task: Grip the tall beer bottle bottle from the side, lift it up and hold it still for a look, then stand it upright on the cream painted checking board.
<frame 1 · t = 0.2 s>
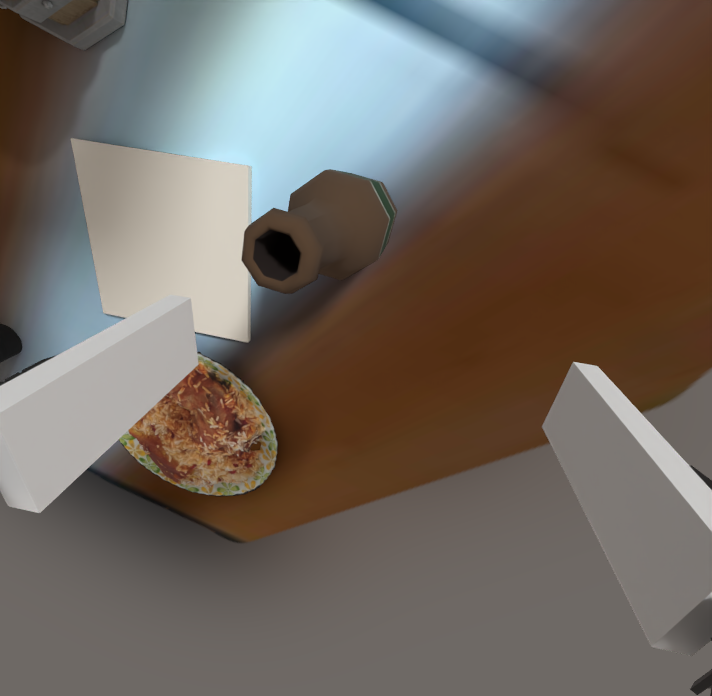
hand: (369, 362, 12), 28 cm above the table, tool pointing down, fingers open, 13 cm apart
drinking cup: (8, 338, 52), on the table
beer bottle: (361, 215, 37), on the table
rice dish: (195, 421, 53), on the table
checking board: (170, 247, 42), on the table
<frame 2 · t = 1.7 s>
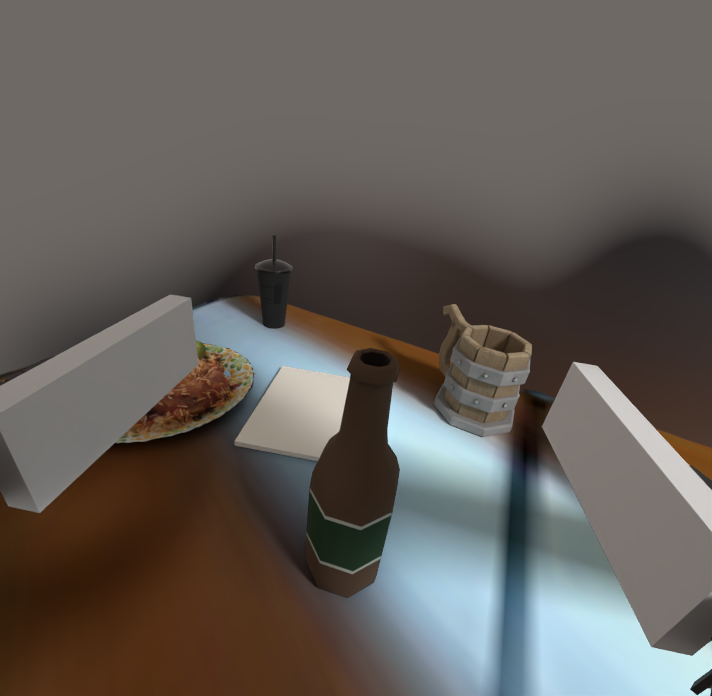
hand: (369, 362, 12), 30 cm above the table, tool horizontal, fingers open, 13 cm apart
drinking cup: (274, 324, 81), on the table
tankard: (460, 398, 64), on the table
beer bottle: (342, 560, 36), on the table
rice dish: (164, 391, 57), on the table
checking board: (323, 412, 56), on the table
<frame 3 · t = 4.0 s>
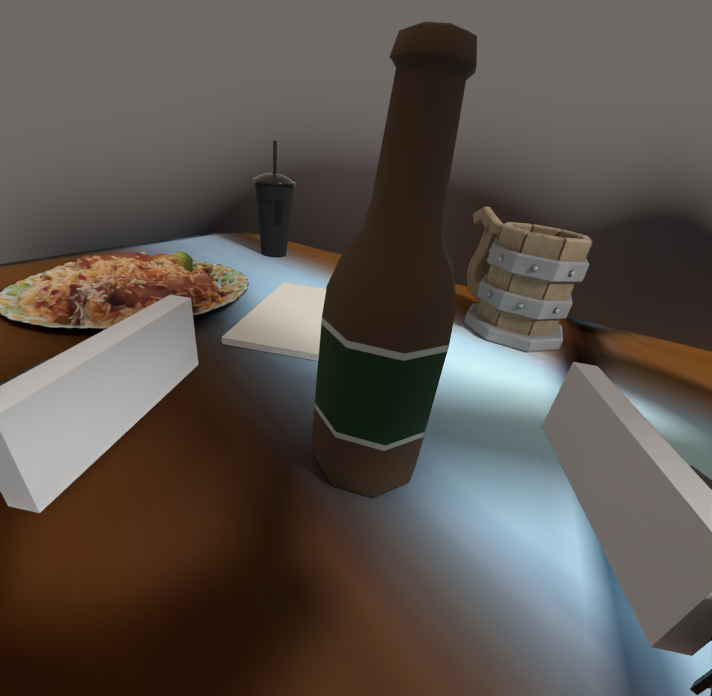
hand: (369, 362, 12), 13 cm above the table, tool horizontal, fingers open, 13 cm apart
drinking cup: (274, 254, 72), on the table
tankard: (493, 320, 54), on the table
beer bottle: (363, 458, 26), on the table
rice dish: (140, 297, 47), on the table
checking board: (332, 322, 46), on the table
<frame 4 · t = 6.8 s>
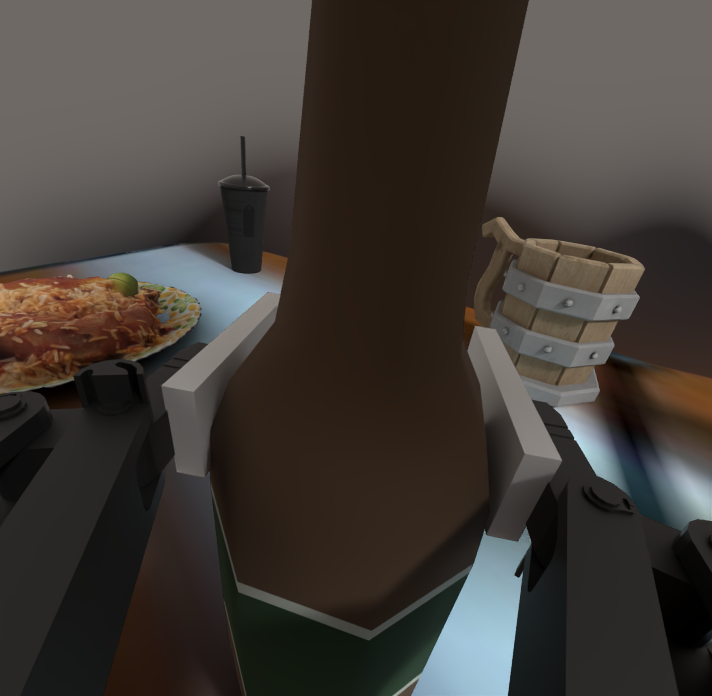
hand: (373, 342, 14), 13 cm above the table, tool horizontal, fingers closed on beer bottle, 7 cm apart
drinking cup: (247, 270, 61), on the table
tankard: (507, 357, 44), on the table
beer bottle: (321, 650, 16), on the table, touching gripper
rice dish: (58, 335, 37), on the table
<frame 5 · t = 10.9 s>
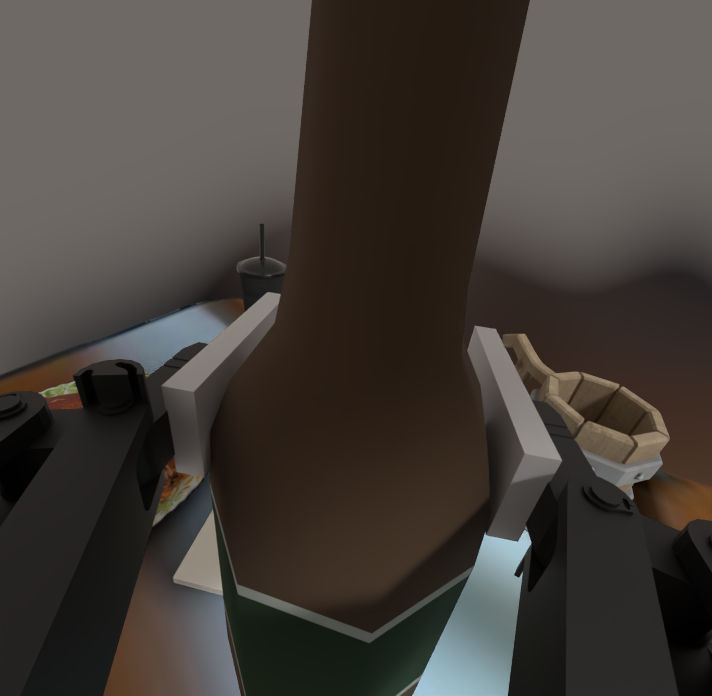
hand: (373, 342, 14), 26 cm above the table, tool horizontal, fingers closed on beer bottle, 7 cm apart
drinking cup: (263, 342, 62), on the table
tankard: (523, 470, 44), on the table
beer bottle: (321, 652, 16), point 13 cm above the table, touching gripper
rice dish: (87, 460, 38), on the table
checking board: (323, 503, 36), on the table
when the fingers open (15 cm above the table, at t = 15.5 s): beer bottle drops 1 cm, resting on checking board.
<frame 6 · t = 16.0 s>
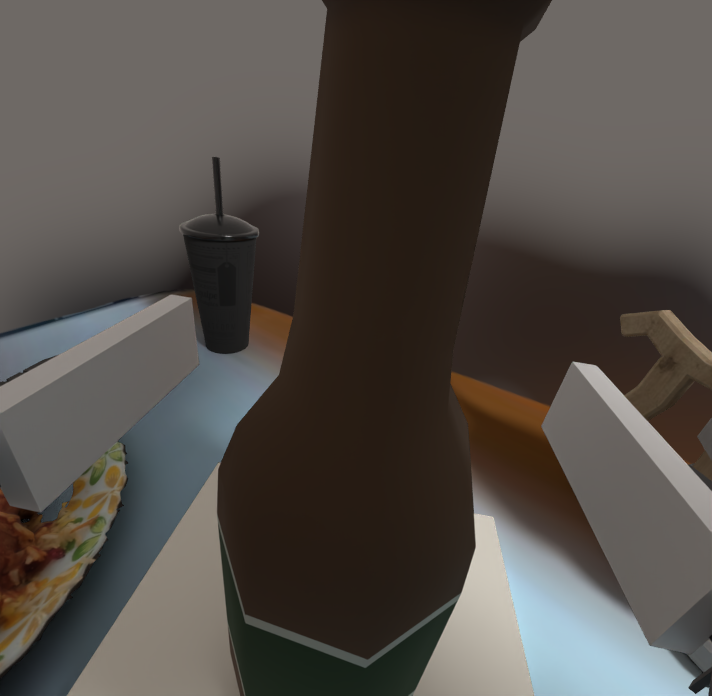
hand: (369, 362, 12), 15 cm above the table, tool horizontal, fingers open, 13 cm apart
drinking cup: (228, 345, 43), on the table
tankard: (670, 551, 25), on the table
beer bottle: (320, 666, 16), point 1 cm above the table, touching checking board
checking board: (318, 670, 17), on the table
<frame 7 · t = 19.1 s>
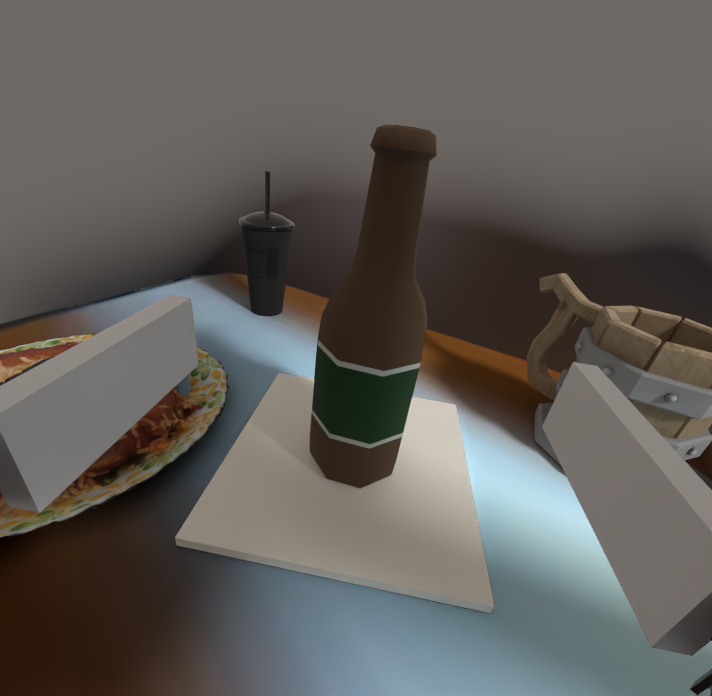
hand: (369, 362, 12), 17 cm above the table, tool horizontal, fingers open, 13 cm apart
drinking cup: (267, 310, 56), on the table
tankard: (568, 428, 39), on the table
beer bottle: (353, 455, 30), point 1 cm above the table, touching checking board
rice dish: (65, 417, 32), on the table
checking board: (352, 459, 31), on the table
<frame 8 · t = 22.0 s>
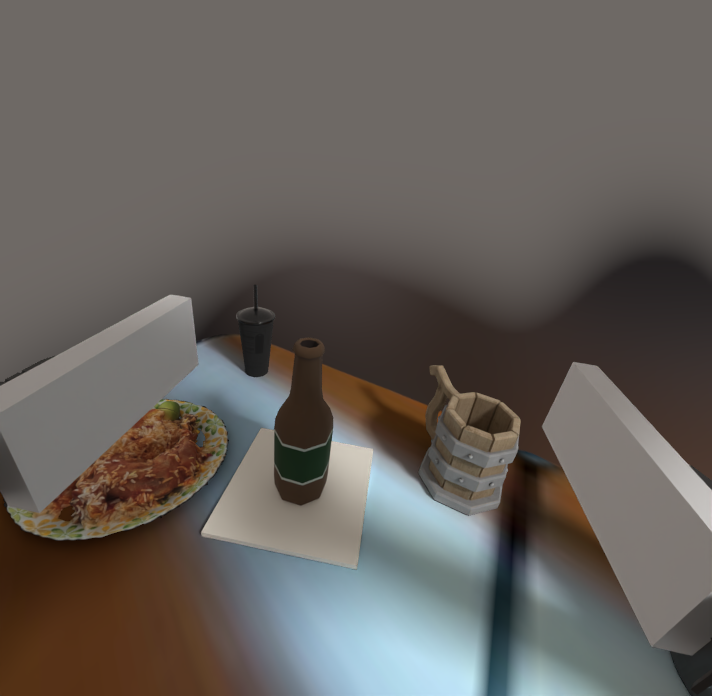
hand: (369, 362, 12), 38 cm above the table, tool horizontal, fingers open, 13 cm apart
drinking cup: (257, 371, 79), on the table
tankard: (446, 463, 61), on the table
beer bottle: (300, 485, 52), point 1 cm above the table, touching checking board
rice dish: (132, 462, 54), on the table
checking board: (300, 487, 53), on the table
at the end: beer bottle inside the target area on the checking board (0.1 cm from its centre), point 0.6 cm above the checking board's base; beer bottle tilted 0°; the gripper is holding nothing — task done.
